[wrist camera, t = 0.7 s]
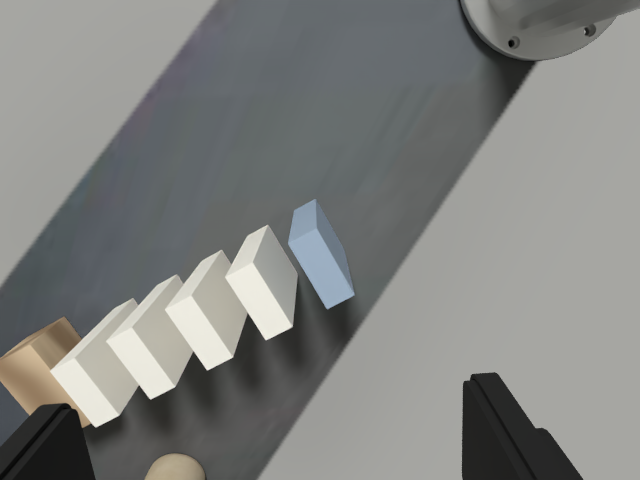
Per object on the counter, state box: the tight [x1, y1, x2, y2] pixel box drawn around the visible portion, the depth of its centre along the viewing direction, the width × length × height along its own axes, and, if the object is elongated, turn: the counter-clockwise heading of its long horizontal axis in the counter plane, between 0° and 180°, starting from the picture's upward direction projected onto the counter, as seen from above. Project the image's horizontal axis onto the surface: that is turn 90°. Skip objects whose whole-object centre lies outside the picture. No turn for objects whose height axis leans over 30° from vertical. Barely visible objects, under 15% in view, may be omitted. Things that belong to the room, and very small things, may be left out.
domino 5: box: [288, 199, 355, 309], centre depth 33 cm, size 2×5×10 cm, turn 29°
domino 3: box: [165, 250, 248, 370], centre depth 34 cm, size 2×5×10 cm, turn 29°
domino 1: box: [50, 299, 139, 428], centre depth 35 cm, size 2×5×10 cm, turn 29°
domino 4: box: [225, 225, 298, 340], centre depth 34 cm, size 2×5×10 cm, turn 29°
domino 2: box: [106, 275, 193, 400], centre depth 35 cm, size 2×5×10 cm, turn 29°
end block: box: [0, 316, 91, 428], centre depth 38 cm, size 4×8×5 cm, turn 29°
